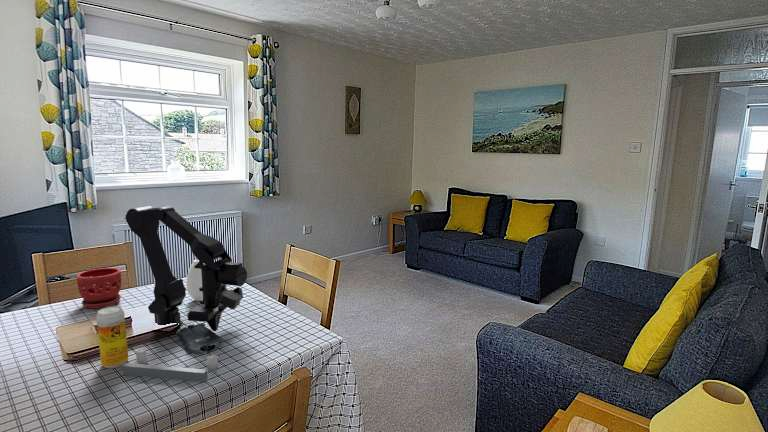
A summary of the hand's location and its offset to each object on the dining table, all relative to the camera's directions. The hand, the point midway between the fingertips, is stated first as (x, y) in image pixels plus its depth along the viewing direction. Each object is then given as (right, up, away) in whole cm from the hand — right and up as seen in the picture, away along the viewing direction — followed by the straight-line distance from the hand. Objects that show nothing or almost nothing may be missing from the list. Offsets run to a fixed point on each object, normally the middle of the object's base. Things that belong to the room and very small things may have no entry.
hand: (215, 330), depth 127 cm
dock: (-3, -5, -21) cm, 21 cm away
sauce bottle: (-17, +4, +27) cm, 32 cm away
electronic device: (-2, -3, -6) cm, 7 cm away
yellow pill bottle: (-19, -4, -17) cm, 26 cm away
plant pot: (-50, +4, +22) cm, 54 cm away
